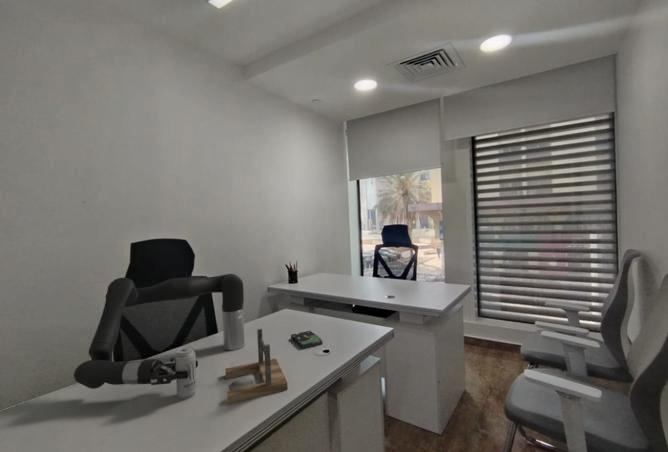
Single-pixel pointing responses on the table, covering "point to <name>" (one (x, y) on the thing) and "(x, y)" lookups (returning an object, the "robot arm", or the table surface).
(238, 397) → the wooden crossbar stand
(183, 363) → the energy drink can
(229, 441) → the table surface
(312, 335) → the disk drive
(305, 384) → the table surface
